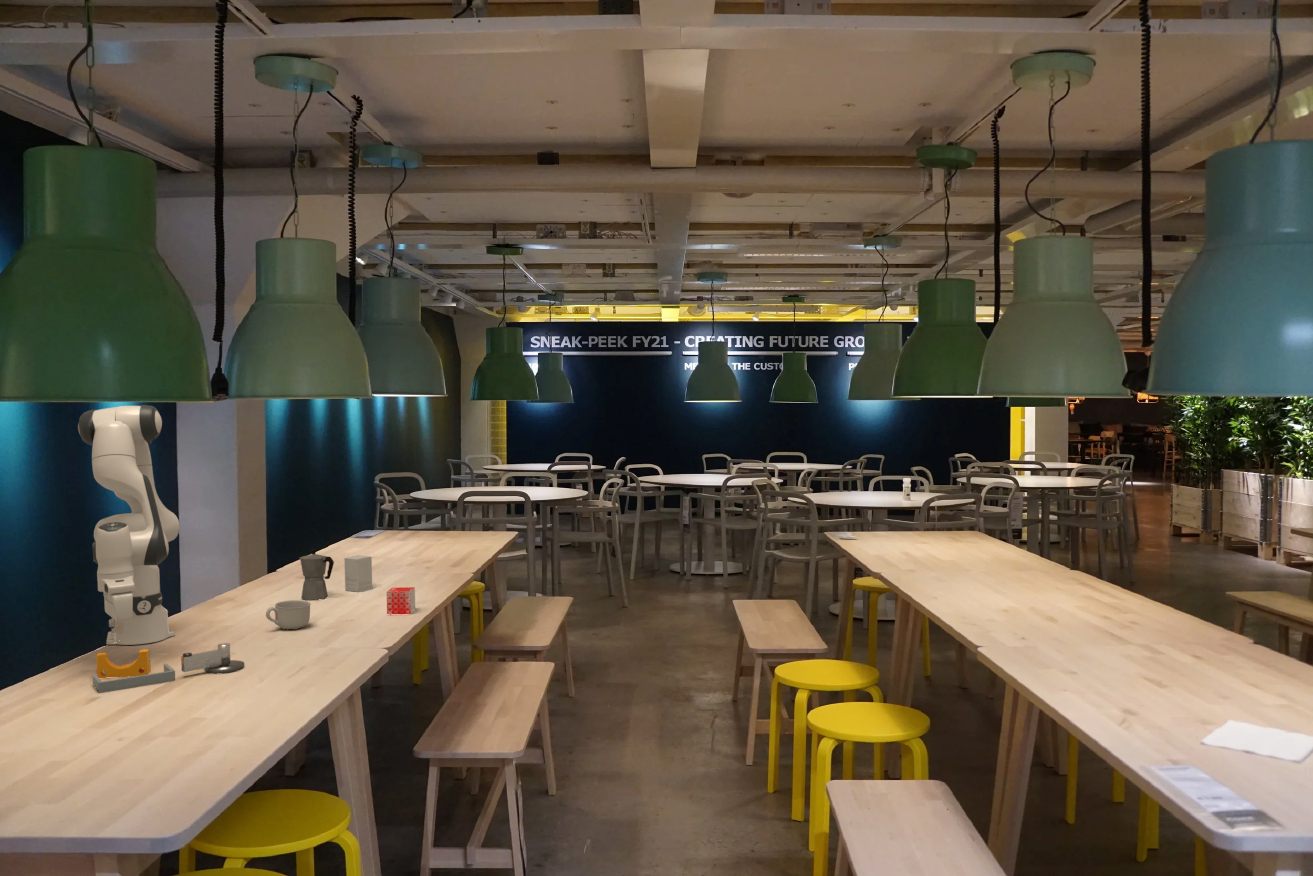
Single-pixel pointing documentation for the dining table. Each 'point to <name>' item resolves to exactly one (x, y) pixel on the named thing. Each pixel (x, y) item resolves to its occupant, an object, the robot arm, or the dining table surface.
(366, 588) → the supplement box
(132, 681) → the bay
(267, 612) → the teacup
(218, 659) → the crank
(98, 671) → the pipe clamp
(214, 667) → the crank base
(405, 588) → the puzzle cube
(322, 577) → the coffeepot
